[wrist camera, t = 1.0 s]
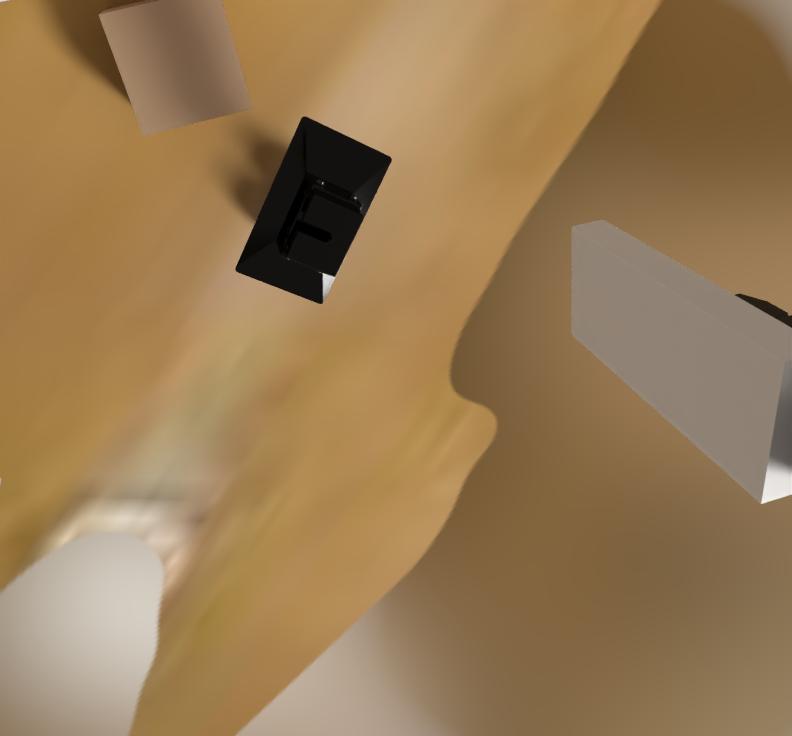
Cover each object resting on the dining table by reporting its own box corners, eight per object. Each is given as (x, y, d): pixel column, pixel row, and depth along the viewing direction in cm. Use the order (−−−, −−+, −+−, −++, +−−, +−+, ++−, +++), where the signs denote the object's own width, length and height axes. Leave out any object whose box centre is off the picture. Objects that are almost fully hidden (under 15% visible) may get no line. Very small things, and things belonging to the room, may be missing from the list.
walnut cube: (147, 116, 37) (143, 136, 33) (108, 8, 35) (98, 14, 30) (244, 91, 38) (252, 108, 34) (212, -17, 35) (218, -14, 31)
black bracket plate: (300, 77, 39) (313, 90, 35) (418, 138, 42) (443, 156, 38) (210, 285, 43) (213, 317, 39) (324, 327, 46) (338, 361, 42)
